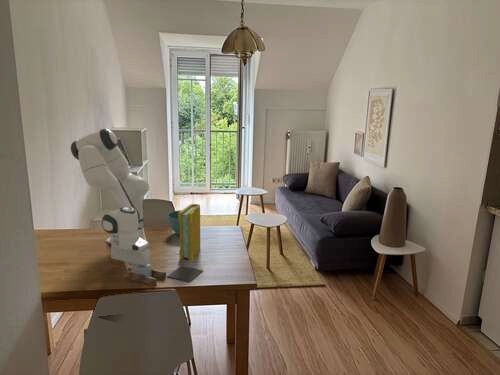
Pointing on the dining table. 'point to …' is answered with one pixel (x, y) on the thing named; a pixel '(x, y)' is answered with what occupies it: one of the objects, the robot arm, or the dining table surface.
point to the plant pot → (174, 221)
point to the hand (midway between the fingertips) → (130, 270)
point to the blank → (144, 270)
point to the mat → (185, 273)
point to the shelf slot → (148, 279)
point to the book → (189, 231)
